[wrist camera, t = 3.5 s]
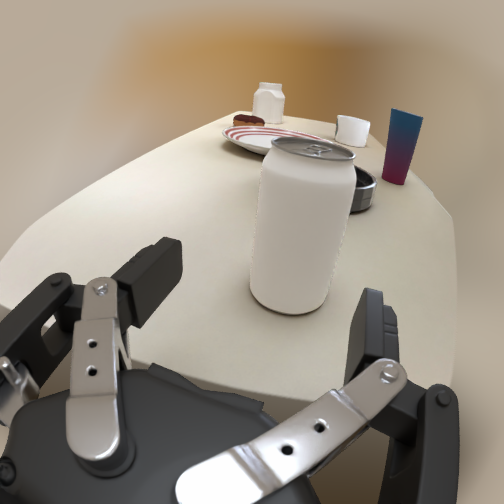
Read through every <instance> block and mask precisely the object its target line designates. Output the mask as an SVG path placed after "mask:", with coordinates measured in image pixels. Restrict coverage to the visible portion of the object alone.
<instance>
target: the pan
mask: <svg viewBox="0 0 504 504" xmlns="http://www.w3.org/2000/svg"><path fill="white" fill-rule="evenodd" d="M354 168H355V172H356V178H357V179H356V186H355V191H354V196H353V200H352V205H351V209H350V212H357V211H360V210H363V209H366V208H369V206H370V205H371V204H372V202H373V198H374V194H375V190H376V186H377V181H376V178H375V177H374V176H372V175H371V174H370V173H369V172H367V171H365V170H363V169H361V168H360V167H357V166H355V165H354Z"/></svg>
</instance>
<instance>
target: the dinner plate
mask: <svg viewBox="0 0 504 504" xmlns="http://www.w3.org/2000/svg"><path fill="white" fill-rule="evenodd" d="M222 134H223V135H224V136H225V137H226V138H227V139H228V140H230V141H232V142H233V143H235V144H237V145H239V146H242V147H244V148H245V149H247V150H249V151H252V152H255V153H259V154H262V155H267V153H268V152H269V150H270V149H271V146H272V144H271V140H272V139H273V138H276V137H304V138H311V139H317V140H322V141H326V142H330V141H328V140H325V139H323V138H320V137H317V136H313V135H310V134H306V133H302V132H298V131H293V130H287V129H280V128H272V127H260V126H238V127H230V128H226V129H224V130H223V131H222ZM330 143H333V142H330ZM333 144H334V143H333Z"/></svg>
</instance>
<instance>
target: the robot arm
mask: <svg viewBox="0 0 504 504" xmlns="http://www.w3.org/2000/svg"><path fill="white" fill-rule="evenodd" d="M182 272H183V265H182V244H181V241H180V240H176V239H172V238H168V237H163V238H162V239H160V240H159V241H158V242H157V243H156V244H155V245H150V246H148V247H145V248H143V249H141V250H140V251H139V252H138V253H137V254H136V255H135V257H134V256H133V257H132V258H131V259H130V260H129V262H127V263H126V264H124V265H123V266H122V267H121V268H120V269H119V270H118V271H117V272H116V273H114V274H113V275H112V276H111V277H110V278H109V277H99V278H96V279H93V280H91V281H90V282H89V283H88V284H87V285H77V284H73V283H72V280H71V277H70V275H68V274H67V273H55V274H52V275H50V276H49V277H47V278H46V279H45V280H44V281H43V282H42V283H41V284H39V285H38V286H37V287H36V288H35V289H34V290H33V291H32V292H31V293H30V294H29V295H28V296H27V297H25V298H24V299H23V300H22V301H21V302H20V303H19V304H18V305H17V306H16V307H15V308H14V309H13V310H12V311H11V312H10V313H9V314H8V315H7V316H6V317H5V318H4V319H3V320H2V321H1V323H0V424H1V425H3V426H7V427H9V428H10V430H9V436H8V440H7V444H6V447H5V450H4V452H3V454H2V456H1V458H0V504H321V503H320V501H319V499H318V497H317V495H316V493H315V491H314V489H313V487H312V485H311V483H310V481H309V478H310V477H312V476H313V475H314V474H316V473H317V472H318V471H320V470H321V469H322V468H323V467H325V466H326V465H327V464H329V463H330V462H331V461H332V460H333V459H334V458H335V457H337V456H338V455H339V454H340V453H341V452H342V451H344V450H345V449H346V448H347V447H348V446H350V444H352V443H353V442H354V441H355V440H356V439H358V438H359V437H360V436H361V435H362V434H363V433H364V432H365V431H366V430H368V429H369V428H370V427H372V428H374V429H376V430H378V431H380V432H382V433H384V434H386V435H388V436H390V440H389V447H388V454H387V460H386V466H385V471H384V477H383V481H382V486H381V491H380V496H379V501H378V504H456V500H457V490H458V476H459V446H460V444H459V442H460V440H459V411H458V410H459V409H458V399H457V396H456V394H455V393H454V392H453V391H452V390H451V389H450V388H449V387H447V386H445V385H442V384H435V385H432V386H431V387H429V389H428V390H426V389H424V388H422V387H420V386H418V385H416V384H414V383H412V382H411V381H410V380H408V379H407V373H406V371H405V369H404V368H403V366H402V365H401V364H400V362H399V342H398V328H397V316H396V314H395V312H394V311H393V309H392V307H391V306H387V305H383V292H382V291H377V290H373V289H369V288H364V290H363V293H362V295H361V298H360V301H359V303H358V306H357V308H356V311H355V313H354V316H353V319H352V322H351V327H350V334H349V344H348V353H347V362H346V370H345V377H344V384H343V387H342V388H341V389H340V390H338V391H337V390H336V389H332V390H330V391H329V392H327V393H326V394H324V395H323V396H321V397H320V398H319V399H317V400H316V401H314V402H313V403H311V404H310V405H308V406H307V407H306V408H304V409H302V410H301V411H299V412H298V413H296V414H295V415H293V416H292V417H290V418H288V419H287V420H285V421H284V422H282V423H281V424H279V422H277V421H276V420H275V419H274V418H273V417H271V416H270V415H269V414H267V413H265V412H264V411H262V409H263V405H264V402H261V401H257V400H254V399H251V398H247V397H244V396H241V395H238V394H235V393H226V392H217V391H209V390H203V389H200V388H199V387H197V386H196V385H194V384H193V383H191V382H190V381H188V380H187V379H186V378H184V377H183V376H181V375H180V374H178V373H177V372H174V371H172V370H169V369H167V368H164V367H162V366H159V365H157V364H155V363H152V364H151V366H150V367H149V369H148V370H147V369H132V367H131V358H130V347H129V334H128V328H129V326H130V325H132V326H135V327H137V328H139V329H140V328H141V327H142V326H143V325H144V324H145V322H146V321H147V320H148V319H149V317H150V316H151V315H152V314H153V313H154V311H155V310H156V309H157V308H158V307H159V305H160V304H161V303H162V302H163V300H164V299H165V298H166V297H167V296H168V294H169V293H170V292H171V291H172V290H173V289H174V287H175V286H176V285H177V284H178V283H179V281H180V279H181V276H182ZM52 315H54V317H55V319H56V322H55V323H54V324H53V325H52V326H51V327H50V328H49V329H48V331H47V332H46V333H45V334H44V335H43V336H41V328H42V326H43V325H44V324H45V322H46V321H47V320H48V319H49V318H50V317H51V316H52ZM71 349H72V358H71V376H70V389H68V390H65V391H62V392H58V393H55V394H52V395H49V396H46V397H43V398H40V399H38V396H39V390H40V388H41V387H42V386H43V384H44V383H45V382H46V380H47V379H48V378H49V376H50V375H51V374H52V372H53V371H54V370H55V369H56V368H57V366H58V365H59V364H60V362H61V361H62V360H63V359H64V357H65V356H66V355H67V354H68V352H69V351H70V350H71Z"/></svg>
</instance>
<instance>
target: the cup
mask: <svg viewBox="0 0 504 504" xmlns="http://www.w3.org/2000/svg"><path fill="white" fill-rule="evenodd" d="M422 120H423V117H421V116H418V115H415V114H412V113H408V112H405V111H401V110H398V109H394V108H392V109H391V117H390V125H389V133H388V141H387V148H386V154H385V161H384V167H383V173H382V178H383V179H384V180H386V181H388V182H391V183H394V184H398V185H403V184H404V182H405V179H406V176H407V172H408V169H409V166H410V163H411V160H412V156H413V153H414V149H415V146H416V143H417V139H418V135H419V132H420V128H421V124H422Z"/></svg>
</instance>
